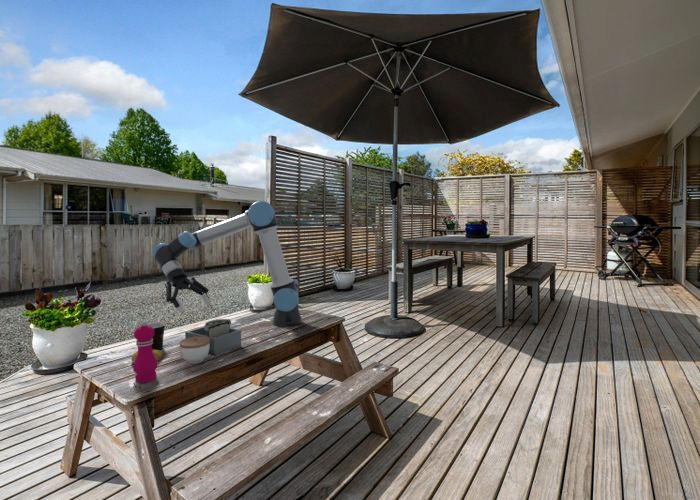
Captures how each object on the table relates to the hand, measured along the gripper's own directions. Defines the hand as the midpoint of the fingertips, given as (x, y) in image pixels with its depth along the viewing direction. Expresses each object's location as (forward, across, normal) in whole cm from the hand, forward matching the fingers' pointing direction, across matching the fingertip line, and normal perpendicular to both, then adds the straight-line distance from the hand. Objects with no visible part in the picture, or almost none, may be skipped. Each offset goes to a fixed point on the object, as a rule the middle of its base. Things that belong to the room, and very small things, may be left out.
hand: (197, 309), depth 159 cm
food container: (+18, 0, -2) cm, 18 cm away
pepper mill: (+22, +34, +1) cm, 40 cm away
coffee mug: (+4, +13, -17) cm, 22 cm away
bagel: (+12, +24, -10) cm, 28 cm away
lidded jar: (+23, +14, +1) cm, 27 cm away
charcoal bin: (+18, 0, -3) cm, 18 cm away
